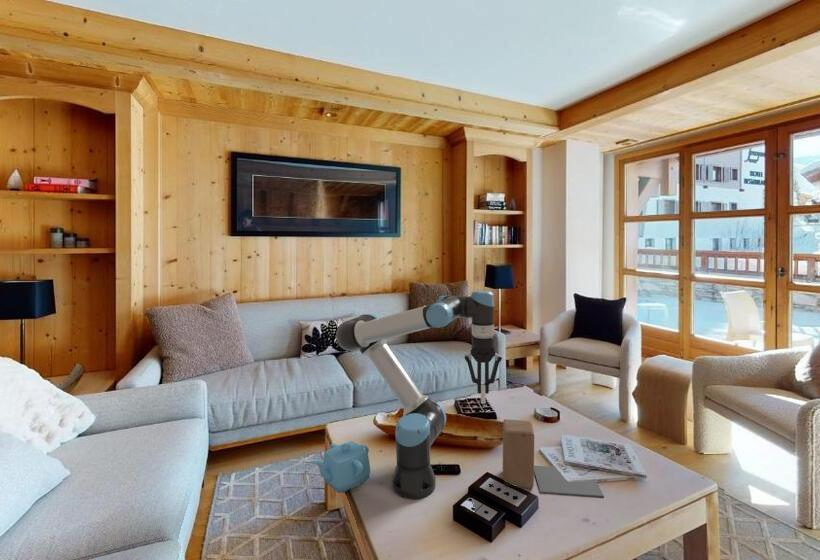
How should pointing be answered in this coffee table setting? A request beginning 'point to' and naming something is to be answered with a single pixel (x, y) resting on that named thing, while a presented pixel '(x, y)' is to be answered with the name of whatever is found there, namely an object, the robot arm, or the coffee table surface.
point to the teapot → (345, 465)
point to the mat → (563, 483)
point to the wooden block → (518, 453)
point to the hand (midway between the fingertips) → (483, 401)
